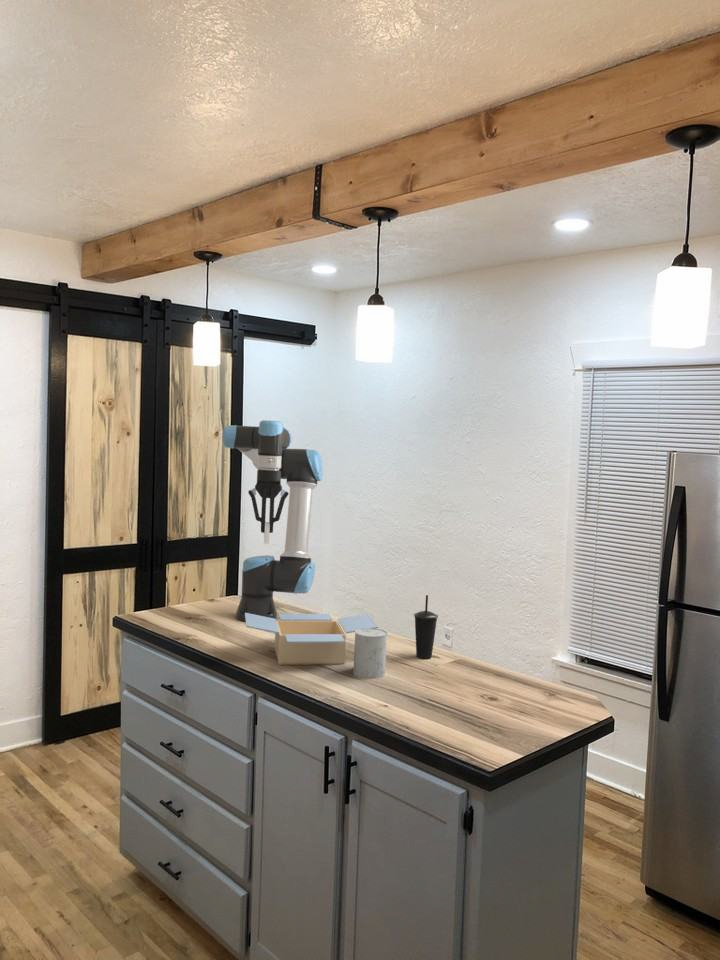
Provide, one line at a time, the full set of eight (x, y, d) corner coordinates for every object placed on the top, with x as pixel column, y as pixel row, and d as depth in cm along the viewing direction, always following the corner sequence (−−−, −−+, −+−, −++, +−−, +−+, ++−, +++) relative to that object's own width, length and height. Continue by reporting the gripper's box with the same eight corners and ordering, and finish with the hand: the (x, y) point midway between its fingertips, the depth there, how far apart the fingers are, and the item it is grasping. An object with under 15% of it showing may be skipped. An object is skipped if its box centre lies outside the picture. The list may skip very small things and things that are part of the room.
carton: (272, 641, 255) (274, 613, 255) (332, 641, 259) (333, 613, 258) (280, 673, 221) (282, 641, 221) (348, 672, 225) (350, 641, 224)
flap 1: (275, 618, 246) (275, 619, 246) (244, 612, 244) (244, 613, 244) (279, 632, 229) (279, 633, 229) (246, 625, 227) (246, 627, 227)
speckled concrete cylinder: (386, 669, 230) (388, 629, 229) (384, 679, 220) (386, 637, 219) (354, 667, 231) (356, 627, 230) (351, 677, 221) (353, 635, 220)
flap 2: (367, 613, 251) (367, 615, 251) (337, 618, 250) (337, 620, 250) (377, 626, 235) (378, 628, 235) (346, 632, 233) (346, 633, 233)
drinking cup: (408, 657, 243) (411, 595, 242) (417, 652, 250) (420, 591, 249) (430, 662, 240) (433, 599, 239) (439, 656, 246) (442, 595, 245)
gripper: (248, 469, 237) (246, 544, 239) (290, 470, 240) (287, 545, 241) (248, 467, 245) (245, 541, 246) (288, 469, 247) (285, 541, 248)
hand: (266, 542), depth 244 cm, fingers closed
